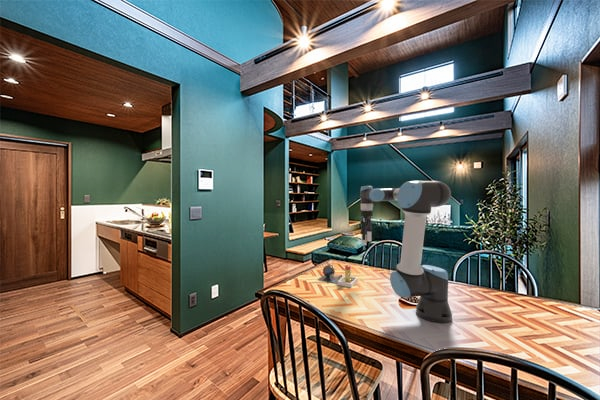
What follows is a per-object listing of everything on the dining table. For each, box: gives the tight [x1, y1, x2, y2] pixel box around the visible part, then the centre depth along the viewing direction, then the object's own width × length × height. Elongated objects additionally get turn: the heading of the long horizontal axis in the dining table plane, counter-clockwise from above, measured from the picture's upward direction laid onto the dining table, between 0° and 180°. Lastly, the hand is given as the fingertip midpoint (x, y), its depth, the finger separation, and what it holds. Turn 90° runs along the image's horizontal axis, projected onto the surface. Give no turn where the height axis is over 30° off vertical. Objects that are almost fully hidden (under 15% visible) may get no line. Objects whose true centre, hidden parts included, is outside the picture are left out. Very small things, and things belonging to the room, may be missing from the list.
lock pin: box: [344, 264, 352, 283], centre depth 155 cm, size 3×3×11 cm
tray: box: [337, 275, 359, 288], centre depth 155 cm, size 13×9×3 cm
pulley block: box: [317, 264, 343, 285], centre depth 162 cm, size 13×15×9 cm
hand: (366, 243), depth 154 cm, fingers open, 13 cm apart
